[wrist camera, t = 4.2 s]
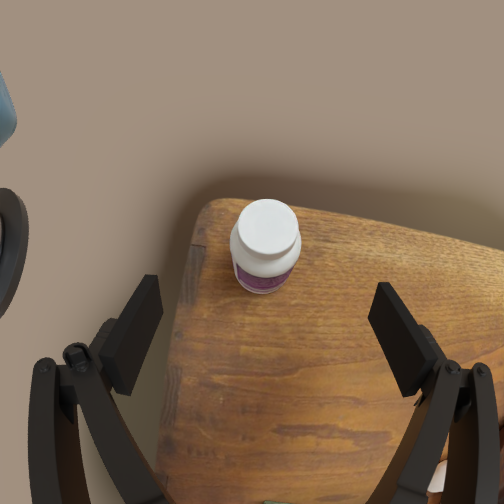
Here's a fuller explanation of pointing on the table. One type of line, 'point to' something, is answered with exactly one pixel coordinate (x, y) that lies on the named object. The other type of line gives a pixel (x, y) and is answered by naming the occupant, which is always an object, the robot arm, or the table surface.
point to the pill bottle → (265, 245)
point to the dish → (501, 468)
